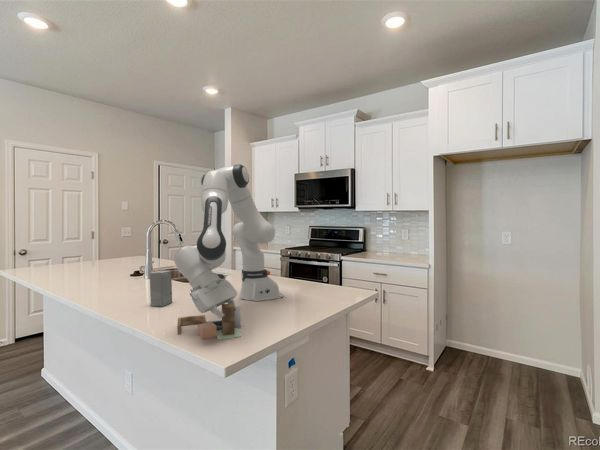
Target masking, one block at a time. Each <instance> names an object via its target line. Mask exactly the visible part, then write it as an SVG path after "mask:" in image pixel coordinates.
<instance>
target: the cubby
mask: <svg viewBox="0 0 600 450" xmlns="http://www.w3.org/2000/svg"><path fill="white" fill-rule="evenodd" d="M206 322H207V319H206V314H198V315H188V316H179V317H177V327H176V328H177V330H176V331H177V335H180V334H181V329H182V326H188V325H190V326H191V325H198V324H202V323H206Z"/></svg>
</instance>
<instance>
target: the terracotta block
mask: <svg viewBox="0 0 600 450" xmlns="http://www.w3.org/2000/svg"><path fill="white" fill-rule="evenodd" d="M207 322H208V323H201V324H197V335H198V337H199V338H200V339H201V340H206V339H212V338H217V326H216V325H215V324H214V323H213V322H210V321H207Z"/></svg>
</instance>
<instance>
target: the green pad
mask: <svg viewBox="0 0 600 450" xmlns="http://www.w3.org/2000/svg"><path fill="white" fill-rule="evenodd" d="M236 337H237V338H241V337H242V335H241V333H240V331H239V327H238V328H235V334H232V335H223V334H222V330H217V337H216V339H217V340H218V341H219V340H226V339H228V338H229V339H236Z"/></svg>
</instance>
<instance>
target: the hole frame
mask: <svg viewBox="0 0 600 450" xmlns="http://www.w3.org/2000/svg"><path fill="white" fill-rule="evenodd" d="M208 322H213V323H214V324H215V325H216V326H217V330H222V319H219V320H212V321H206V323H208Z"/></svg>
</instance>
